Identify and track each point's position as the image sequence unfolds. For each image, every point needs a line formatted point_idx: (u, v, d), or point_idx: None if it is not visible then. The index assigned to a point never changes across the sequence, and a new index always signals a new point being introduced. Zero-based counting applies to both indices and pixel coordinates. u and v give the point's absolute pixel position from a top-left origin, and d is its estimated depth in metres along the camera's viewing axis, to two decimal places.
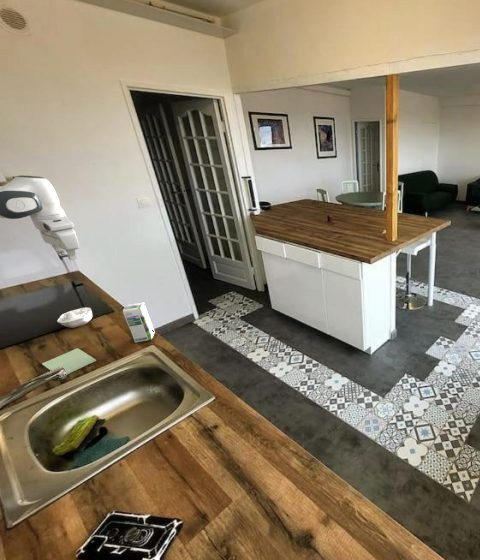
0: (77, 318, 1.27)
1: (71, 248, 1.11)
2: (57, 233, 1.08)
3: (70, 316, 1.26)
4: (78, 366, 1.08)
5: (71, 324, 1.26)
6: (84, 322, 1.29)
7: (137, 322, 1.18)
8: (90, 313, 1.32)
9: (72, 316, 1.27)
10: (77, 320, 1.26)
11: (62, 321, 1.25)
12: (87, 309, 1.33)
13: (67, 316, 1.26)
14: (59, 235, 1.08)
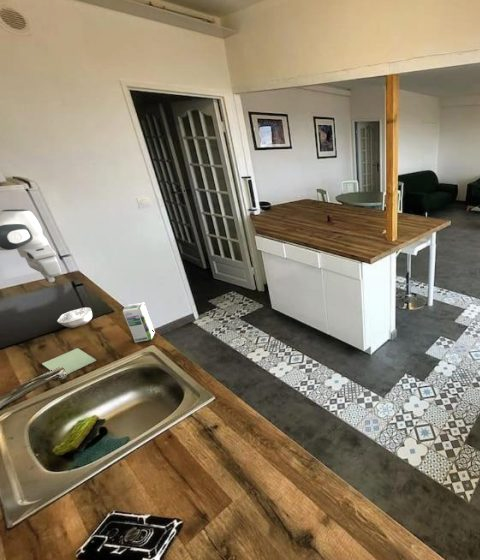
0: (77, 318, 1.27)
1: (53, 274, 1.21)
2: (40, 261, 1.18)
3: (70, 316, 1.26)
4: (78, 366, 1.08)
5: (71, 324, 1.26)
6: (84, 322, 1.29)
7: (137, 322, 1.18)
8: (90, 313, 1.32)
9: (72, 316, 1.27)
10: (77, 320, 1.26)
11: (62, 321, 1.25)
12: (87, 309, 1.33)
13: (67, 316, 1.26)
14: (42, 263, 1.18)
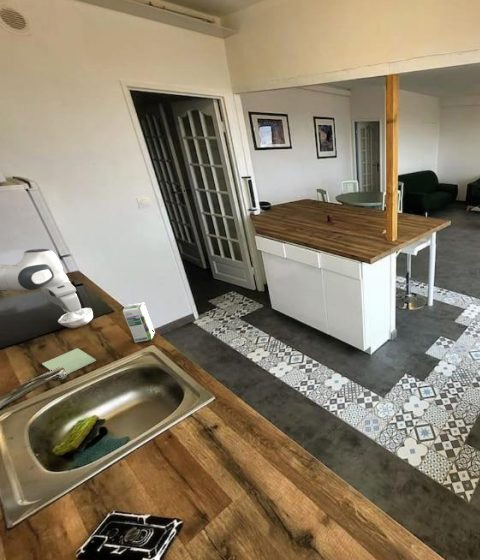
0: (78, 318, 1.27)
1: (74, 310, 1.26)
2: (61, 298, 1.23)
3: (71, 316, 1.26)
4: (78, 366, 1.08)
5: (72, 324, 1.26)
6: (85, 322, 1.29)
7: (137, 322, 1.18)
8: (91, 313, 1.31)
9: (73, 316, 1.26)
10: (78, 320, 1.26)
11: (63, 321, 1.25)
12: (88, 309, 1.33)
13: (68, 316, 1.26)
14: (63, 300, 1.23)
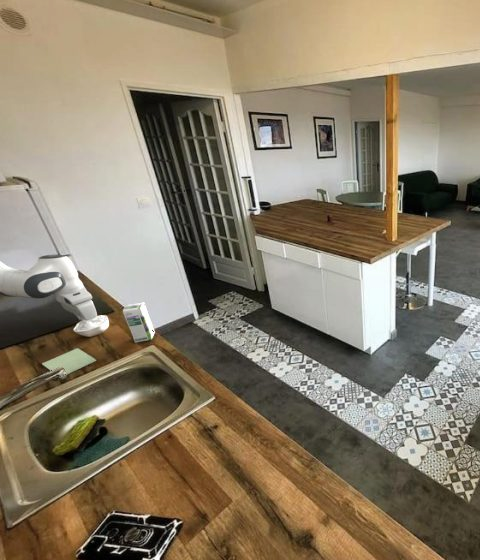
0: (94, 327, 1.21)
1: (90, 318, 1.21)
2: (77, 306, 1.18)
3: (87, 325, 1.21)
4: (78, 366, 1.08)
5: (88, 333, 1.21)
6: (101, 331, 1.24)
7: (137, 322, 1.18)
8: (107, 321, 1.26)
9: (89, 325, 1.21)
10: (94, 329, 1.21)
11: (78, 330, 1.20)
12: (103, 317, 1.28)
13: (83, 325, 1.21)
14: (79, 308, 1.18)
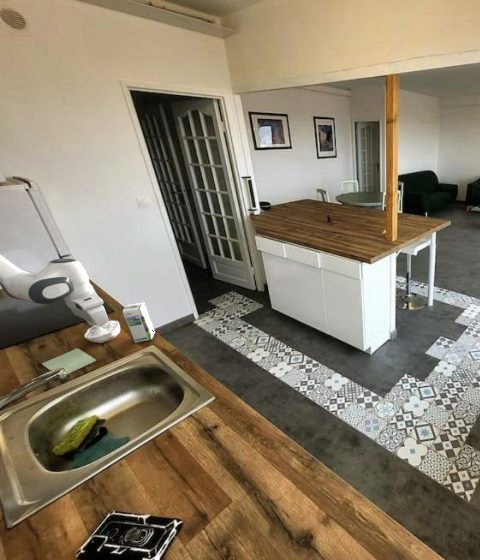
0: (105, 333, 1.18)
1: (101, 324, 1.18)
2: (88, 312, 1.14)
3: (98, 331, 1.18)
4: (78, 366, 1.08)
5: (99, 339, 1.17)
6: (112, 337, 1.20)
7: (137, 322, 1.18)
8: (118, 327, 1.23)
9: (100, 331, 1.18)
10: (106, 335, 1.18)
11: (90, 336, 1.16)
12: (115, 322, 1.25)
13: (95, 331, 1.17)
14: (90, 313, 1.14)
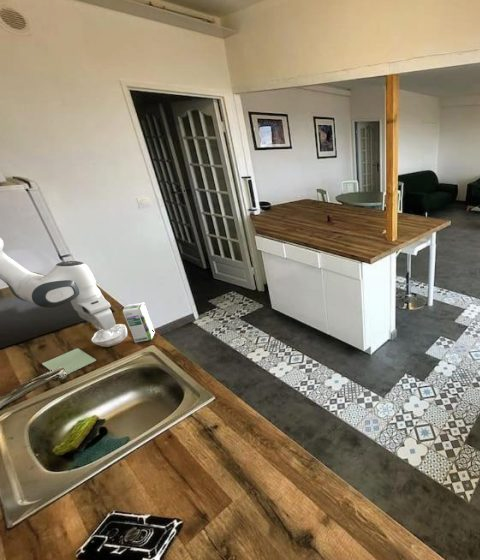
0: (112, 337, 1.16)
1: (108, 327, 1.15)
2: (95, 315, 1.12)
3: (105, 335, 1.15)
4: (78, 366, 1.08)
5: (106, 343, 1.15)
6: (119, 341, 1.18)
7: (137, 322, 1.18)
8: (125, 331, 1.21)
9: (107, 335, 1.16)
10: (113, 339, 1.16)
11: (97, 340, 1.14)
12: (122, 326, 1.23)
13: (102, 335, 1.15)
14: (97, 317, 1.12)
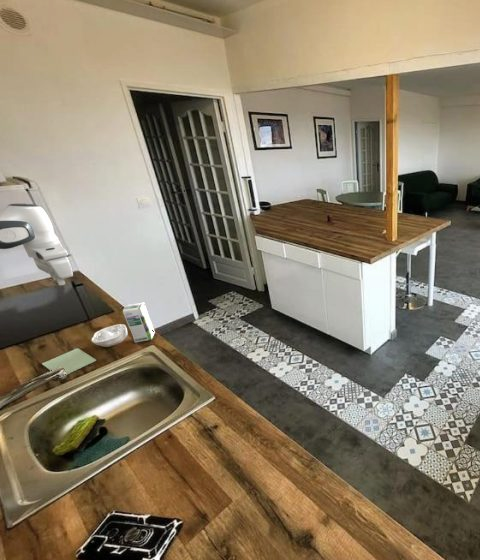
0: (112, 337, 1.16)
1: (64, 277, 1.09)
2: (50, 262, 1.05)
3: (105, 335, 1.15)
4: (78, 366, 1.08)
5: (106, 343, 1.15)
6: (119, 341, 1.18)
7: (137, 322, 1.18)
8: (125, 331, 1.21)
9: (107, 335, 1.16)
10: (113, 339, 1.16)
11: (97, 340, 1.14)
12: (122, 326, 1.23)
13: (102, 335, 1.15)
14: (52, 264, 1.06)
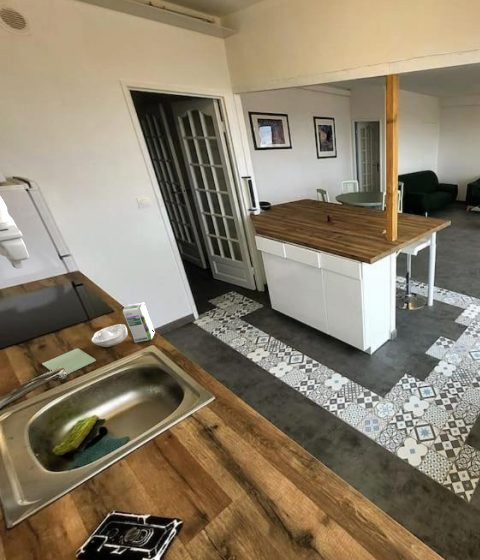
0: (112, 337, 1.16)
1: (19, 258, 1.06)
2: (3, 243, 1.03)
3: (105, 335, 1.15)
4: (78, 366, 1.08)
5: (106, 344, 1.15)
6: (119, 341, 1.18)
7: (137, 322, 1.18)
8: (125, 331, 1.21)
9: (107, 335, 1.16)
10: (113, 339, 1.16)
11: (97, 340, 1.14)
12: (122, 326, 1.23)
13: (102, 335, 1.15)
14: (5, 245, 1.03)
